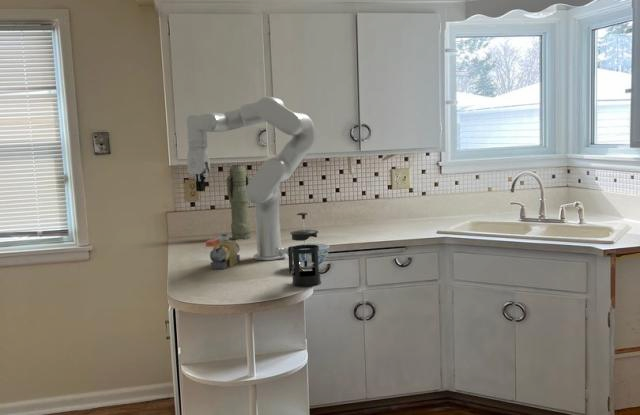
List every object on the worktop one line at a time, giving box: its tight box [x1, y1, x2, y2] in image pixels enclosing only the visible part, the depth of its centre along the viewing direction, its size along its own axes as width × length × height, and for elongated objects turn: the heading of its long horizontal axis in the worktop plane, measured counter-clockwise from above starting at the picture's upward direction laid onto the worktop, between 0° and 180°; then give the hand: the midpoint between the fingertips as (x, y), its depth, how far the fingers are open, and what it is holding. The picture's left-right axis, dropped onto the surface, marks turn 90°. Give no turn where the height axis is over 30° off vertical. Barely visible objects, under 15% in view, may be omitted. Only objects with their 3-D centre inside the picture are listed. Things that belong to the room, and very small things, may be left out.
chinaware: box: [288, 242, 330, 271], centre depth 232 cm, size 15×15×8 cm
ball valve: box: [209, 239, 241, 270], centre depth 244 cm, size 7×16×9 cm, turn 164°
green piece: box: [226, 164, 251, 240], centre depth 307 cm, size 9×12×35 cm
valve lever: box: [205, 233, 230, 248], centre depth 238 cm, size 15×4×2 cm, turn 165°
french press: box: [287, 212, 322, 288], centre depth 206 cm, size 12×9×23 cm
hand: (200, 191), depth 260 cm, fingers closed
